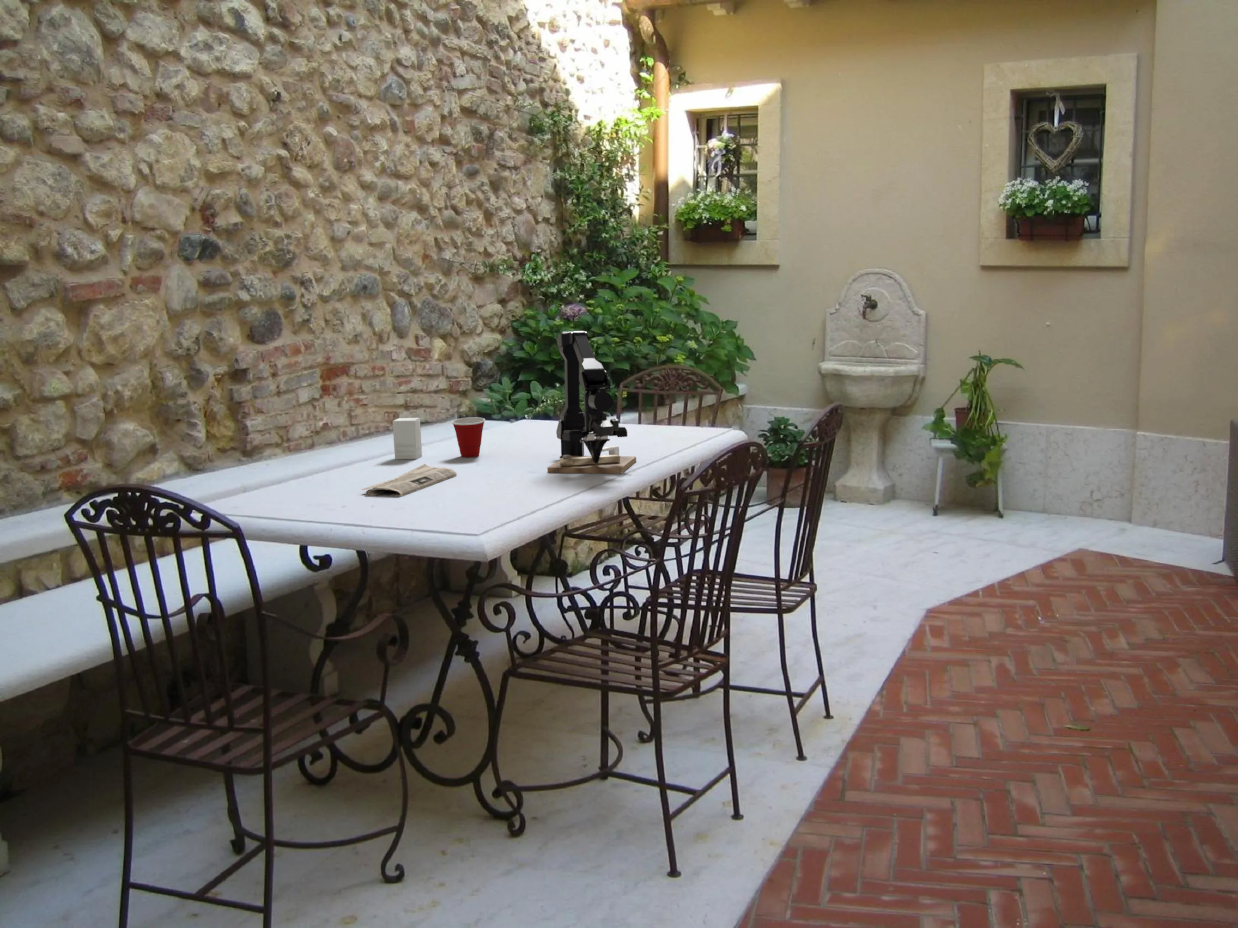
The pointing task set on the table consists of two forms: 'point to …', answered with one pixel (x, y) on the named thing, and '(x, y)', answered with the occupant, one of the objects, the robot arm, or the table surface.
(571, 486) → the table surface
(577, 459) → the link
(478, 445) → the plastic cup
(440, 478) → the newspaper
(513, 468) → the table surface
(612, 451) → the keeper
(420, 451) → the supplement box
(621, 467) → the board
